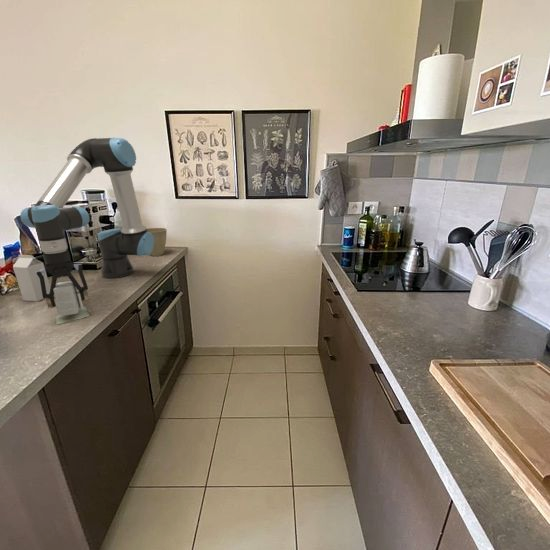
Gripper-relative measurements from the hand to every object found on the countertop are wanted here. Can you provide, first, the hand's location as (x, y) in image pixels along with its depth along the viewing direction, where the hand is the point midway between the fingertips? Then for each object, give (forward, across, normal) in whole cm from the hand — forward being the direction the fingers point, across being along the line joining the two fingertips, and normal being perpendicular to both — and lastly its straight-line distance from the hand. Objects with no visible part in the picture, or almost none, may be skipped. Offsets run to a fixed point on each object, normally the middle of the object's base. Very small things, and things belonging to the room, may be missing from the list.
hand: (71, 310), depth 112 cm
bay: (+2, 0, +5) cm, 5 cm away
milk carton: (+2, -10, +29) cm, 31 cm away
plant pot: (+2, +52, +67) cm, 85 cm away
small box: (0, 0, 0) cm, 0 cm away
